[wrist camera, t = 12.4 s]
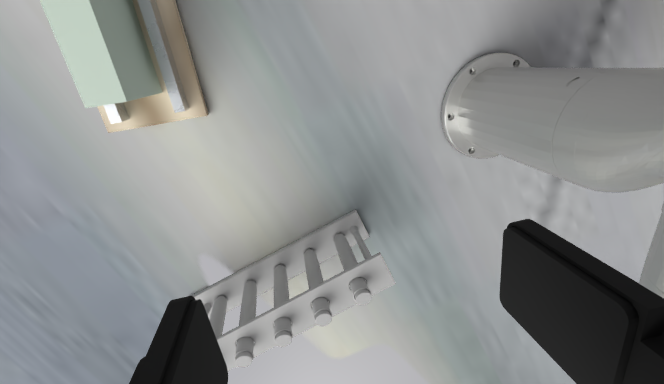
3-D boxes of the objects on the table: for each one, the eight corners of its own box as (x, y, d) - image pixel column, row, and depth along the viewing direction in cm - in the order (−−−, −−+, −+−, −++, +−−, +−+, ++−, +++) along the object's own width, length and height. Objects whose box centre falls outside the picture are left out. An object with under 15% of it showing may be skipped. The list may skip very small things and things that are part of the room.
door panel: (116, -49, 29) (53, -95, 20) (162, 92, 33) (126, 101, 25) (79, -45, 28) (1, -90, 20) (131, 97, 33) (85, 108, 25)
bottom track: (148, -91, 29) (135, -108, 26) (208, 114, 36) (203, 118, 33) (26, -78, 28) (0, -94, 25) (112, 131, 35) (99, 136, 32)
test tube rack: (208, 318, 45) (185, 412, 33) (188, 296, 43) (156, 386, 31) (368, 234, 45) (404, 297, 33) (355, 209, 43) (388, 265, 31)
